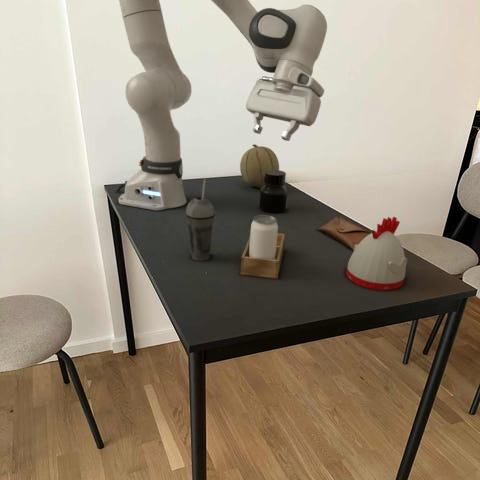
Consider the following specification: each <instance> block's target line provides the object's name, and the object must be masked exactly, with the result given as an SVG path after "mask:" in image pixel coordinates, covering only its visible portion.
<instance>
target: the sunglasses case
mask: <svg viewBox="0 0 480 480" xmlns="http://www.w3.org/2000/svg"><path fill="white" fill-rule="evenodd" d="M317 231H320V232H322V233H324V234H325V235H328V236H329V237H331V238H333V240H335V241H336V242H339V243H340V244H342V245H344V246H345V247H347V248H348V249H351V250H353V251H354V246H355V244H357V245H358V244H359V243H360V242H361V241H362V240H363V239H364V238H365V237H367V236H368V235H369V234H371V233H372V231H368V230H365V229H364V228H363V227H361V226H359V225H357V224H355V223H353V222H351V221H349V220H347V219H346V218H345V219H344V218H343V217H341V216H340V215H336V217H334V218H333V219H331V220H330V221H328V222H326V223H325V224H324V225H322V226H321V227H319V228H317Z"/></svg>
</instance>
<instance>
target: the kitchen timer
mask: <svg viewBox="0 0 480 480" xmlns="http://www.w3.org/2000/svg"><path fill="white" fill-rule="evenodd" d="M400 223H401V221H399V220H398V218H397V217H396V216H393V217H389V216H388V217H387V218H384V217H383V219H382V222H381V224H380V223H377V224H376V225H377V226H376V230H374V229H372V230H371V234H369V235H368V236H367V237H365V238H364V239H363V240H362V241H361V242H360V243H359V244H358V245H357V244H355V246H354V250H353V252H352V254H351V256H350V258H349V260H348V263H347V266H346V273H345V275H346V276H347V278H348V279H349V280H350V281H351V282H353V283H354V284H356V285H358V286H361V287H364V288H368V289H372V290H379V291H380V290H381V291H388V290H389V291H390V290H394V289H398V288H400V287H402V286H403V284H404V283H405V278H406V272H407V271H406V267H407V263H408V258H407V257H406V256H405V255H406V254H405V251H404V248H403V245H402V243H401V241H400V240H399V238H397V236H396V235H395V233H396V231H397V229H398V228H399V225H400Z"/></svg>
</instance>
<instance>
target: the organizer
mask: <svg viewBox="0 0 480 480" xmlns="http://www.w3.org/2000/svg"><path fill="white" fill-rule="evenodd" d="M285 238H286V234H285V233H277V244H276V255H275V260H271V259H262V258H253V257H249V249H250V236H249V237H248V240H247V242H246V244H245V248H244V250H243V252H242V255H241V259H240V261H241V262H240V275H242V276H250V277H260V278H269V279H278V277H279V273H280V268H281V264H282V259H283V254H284V251H285V250H284V249H285V240H286V239H285Z"/></svg>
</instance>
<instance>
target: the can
mask: <svg viewBox="0 0 480 480" xmlns="http://www.w3.org/2000/svg"><path fill="white" fill-rule="evenodd" d="M277 221H278V219H277V218H276V217H275V216H271V215H266V214H265V215H264V214H260V215H255V216H254V217H253V218H252V222H251V224H250V233H249V237H250V249H249V257H253V258H262V259H271V260H275V255H276V244H277V233H278V231H279V224H278V222H277ZM278 234H279V233H278Z"/></svg>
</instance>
